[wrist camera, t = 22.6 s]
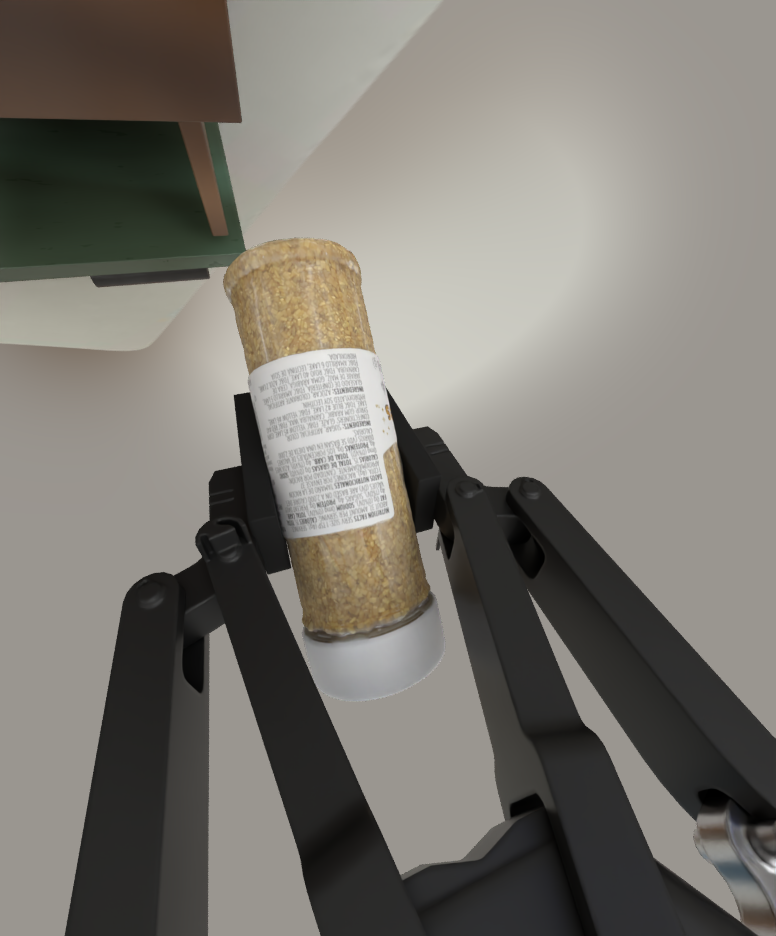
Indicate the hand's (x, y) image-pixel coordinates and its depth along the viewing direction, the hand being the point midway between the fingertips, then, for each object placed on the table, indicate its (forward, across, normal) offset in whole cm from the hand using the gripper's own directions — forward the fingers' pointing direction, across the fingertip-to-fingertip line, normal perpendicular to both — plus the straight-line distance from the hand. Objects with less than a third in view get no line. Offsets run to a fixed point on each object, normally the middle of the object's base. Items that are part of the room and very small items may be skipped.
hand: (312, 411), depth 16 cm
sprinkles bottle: (0, 0, +6) cm, 6 cm away
